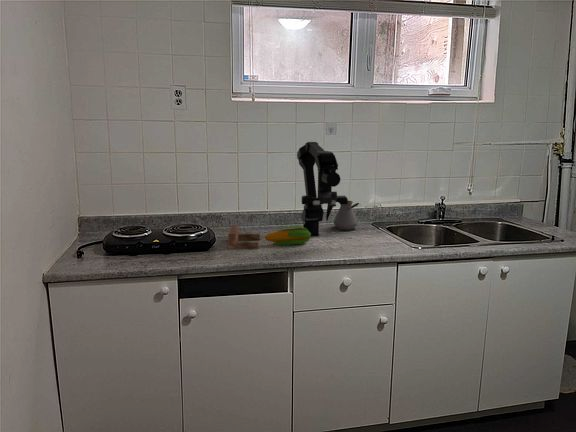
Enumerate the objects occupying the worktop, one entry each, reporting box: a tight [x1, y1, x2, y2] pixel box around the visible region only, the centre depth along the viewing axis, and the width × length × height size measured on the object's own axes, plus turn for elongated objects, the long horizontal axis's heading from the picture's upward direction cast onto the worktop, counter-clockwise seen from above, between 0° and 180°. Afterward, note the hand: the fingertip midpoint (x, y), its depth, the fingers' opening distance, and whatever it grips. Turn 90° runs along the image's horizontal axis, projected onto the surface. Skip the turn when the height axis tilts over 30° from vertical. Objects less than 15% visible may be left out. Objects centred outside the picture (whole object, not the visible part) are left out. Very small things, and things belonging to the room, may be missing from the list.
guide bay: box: [227, 225, 261, 250], centre depth 202 cm, size 12×15×6 cm
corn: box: [263, 225, 311, 247], centre depth 202 cm, size 7×8×20 cm
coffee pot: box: [333, 200, 361, 231], centre depth 225 cm, size 21×12×15 cm, turn 13°
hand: (323, 220), depth 201 cm, fingers open, 2 cm apart
